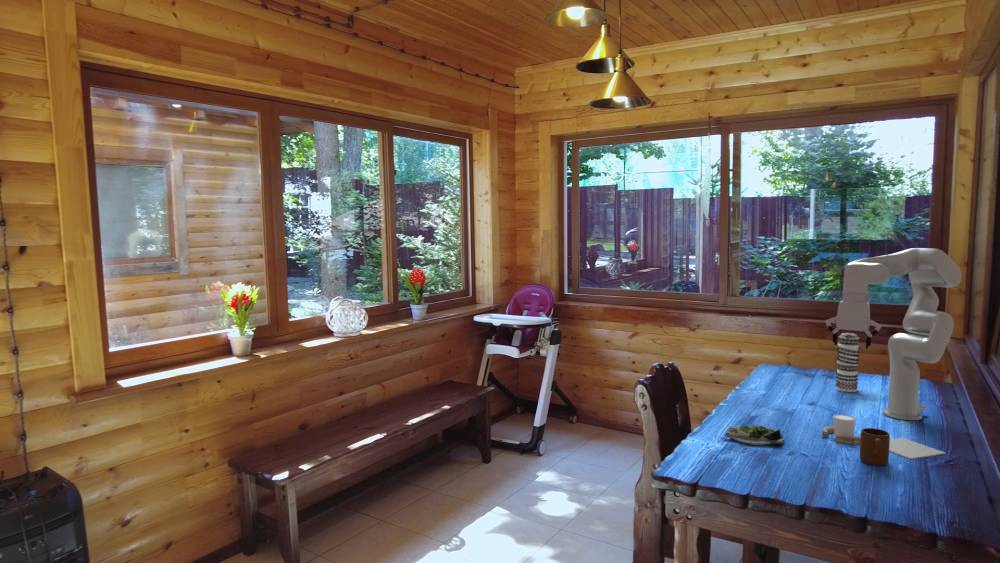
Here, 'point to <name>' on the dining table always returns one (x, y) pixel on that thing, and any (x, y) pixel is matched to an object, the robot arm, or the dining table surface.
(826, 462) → the dining table surface
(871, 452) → the mug
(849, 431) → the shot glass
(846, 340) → the decorative candle
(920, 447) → the rubber mat
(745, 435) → the salad plate
